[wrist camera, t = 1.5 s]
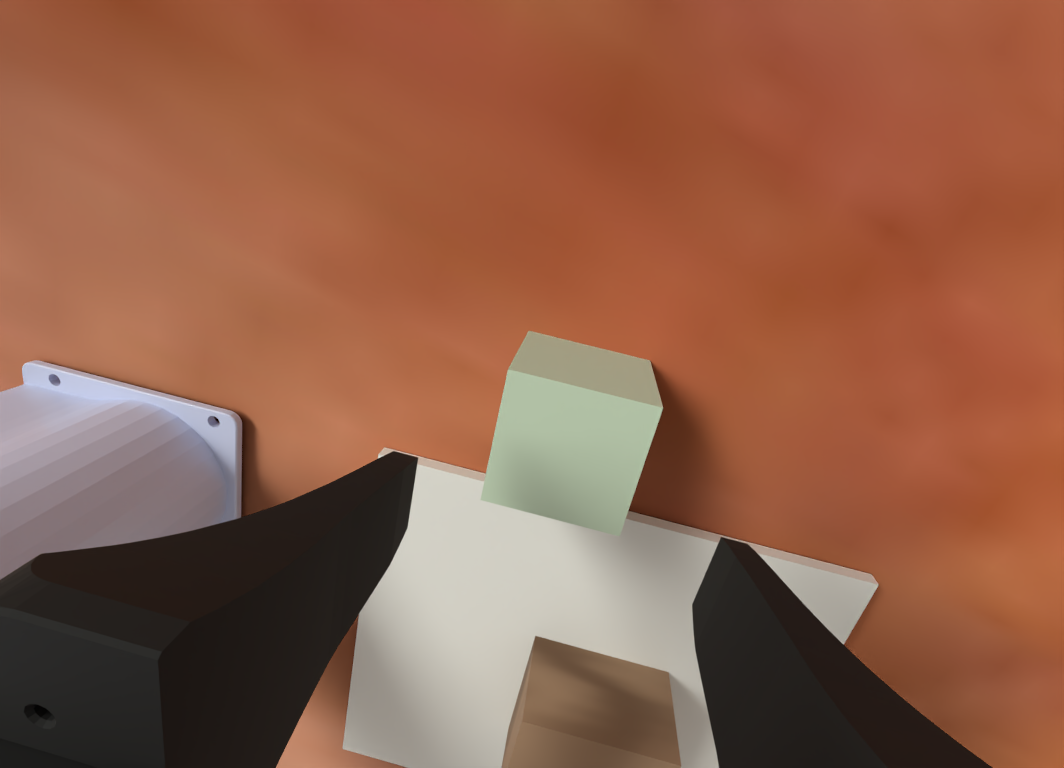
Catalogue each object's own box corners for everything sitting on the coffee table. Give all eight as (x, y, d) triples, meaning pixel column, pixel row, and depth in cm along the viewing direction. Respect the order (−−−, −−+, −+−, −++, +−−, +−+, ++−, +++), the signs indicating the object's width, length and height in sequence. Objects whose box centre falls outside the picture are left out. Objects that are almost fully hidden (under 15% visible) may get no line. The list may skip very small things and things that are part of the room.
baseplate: (347, 737, 28) (342, 748, 27) (384, 447, 21) (378, 454, 21) (715, 843, 27) (718, 857, 27) (871, 574, 21) (878, 585, 20)
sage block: (505, 437, 21) (480, 499, 16) (529, 330, 19) (508, 369, 15) (616, 465, 20) (619, 536, 16) (649, 359, 19) (663, 407, 15)
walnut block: (508, 726, 25) (492, 819, 22) (535, 635, 23) (521, 721, 19) (630, 761, 25) (634, 860, 21) (668, 672, 23) (681, 766, 19)
